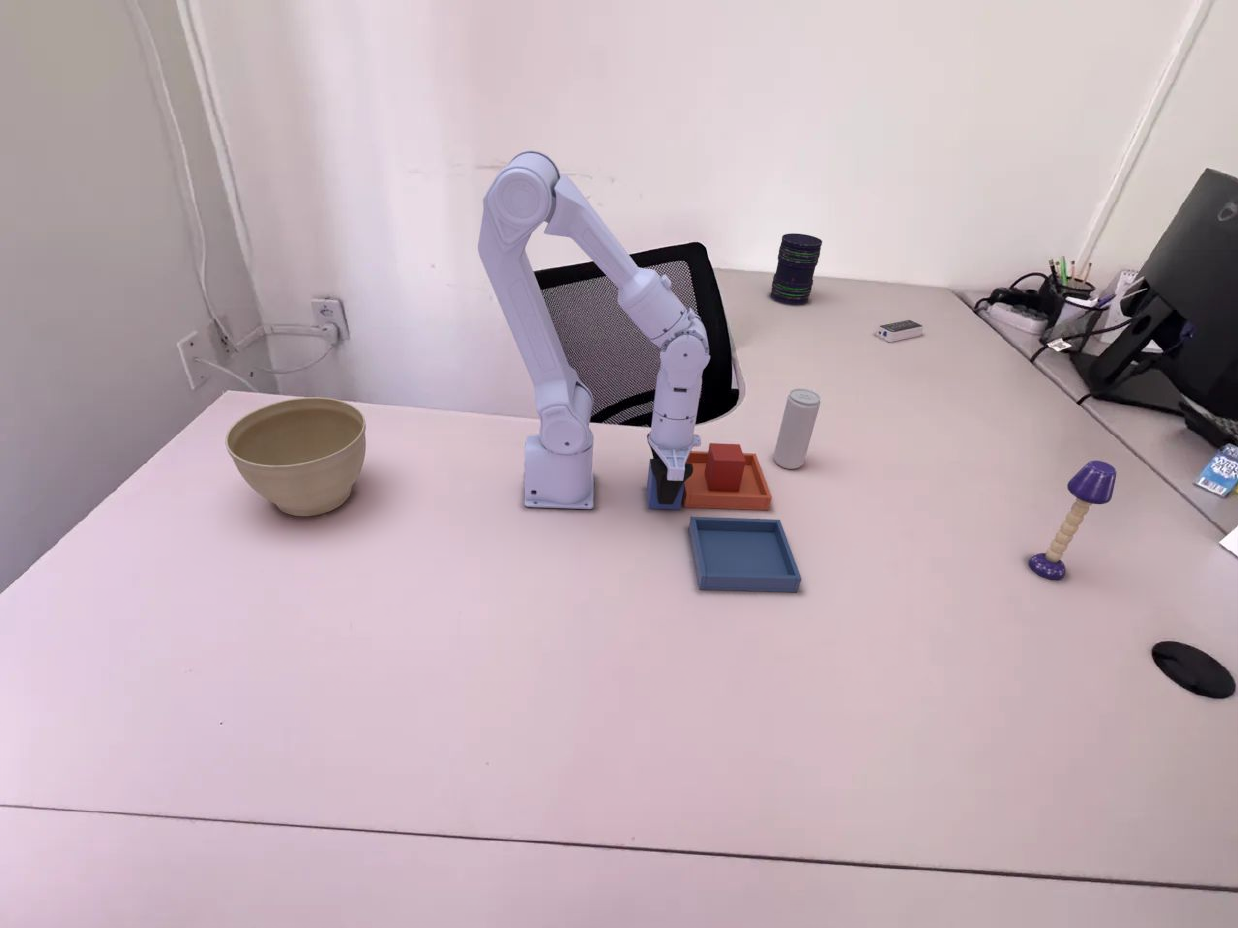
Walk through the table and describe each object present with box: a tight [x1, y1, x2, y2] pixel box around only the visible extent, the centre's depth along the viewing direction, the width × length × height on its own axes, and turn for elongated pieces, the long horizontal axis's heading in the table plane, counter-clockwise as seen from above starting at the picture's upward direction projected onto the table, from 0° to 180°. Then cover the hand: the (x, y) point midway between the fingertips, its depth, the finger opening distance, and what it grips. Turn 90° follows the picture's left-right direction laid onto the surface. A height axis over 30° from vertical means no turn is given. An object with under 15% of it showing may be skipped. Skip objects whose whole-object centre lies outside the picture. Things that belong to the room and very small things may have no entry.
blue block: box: [645, 459, 684, 511], centre depth 92 cm, size 4×4×6 cm
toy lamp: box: [1028, 459, 1117, 581], centre depth 82 cm, size 5×5×17 cm
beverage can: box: [772, 388, 822, 470], centre depth 100 cm, size 5×5×12 cm
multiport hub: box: [875, 319, 924, 343], centre depth 150 cm, size 4×11×2 cm, turn 120°
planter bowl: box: [225, 396, 367, 517], centre depth 85 cm, size 16×16×11 cm
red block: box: [704, 442, 746, 492], centre depth 95 cm, size 4×4×6 cm
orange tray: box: [682, 450, 773, 511], centre depth 97 cm, size 12×11×2 cm
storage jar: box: [769, 232, 823, 306], centre depth 162 cm, size 10×10×15 cm
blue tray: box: [688, 516, 802, 593], centre depth 83 cm, size 12×11×2 cm
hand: (663, 491), depth 93 cm, fingers closed on blue block, 4 cm apart
